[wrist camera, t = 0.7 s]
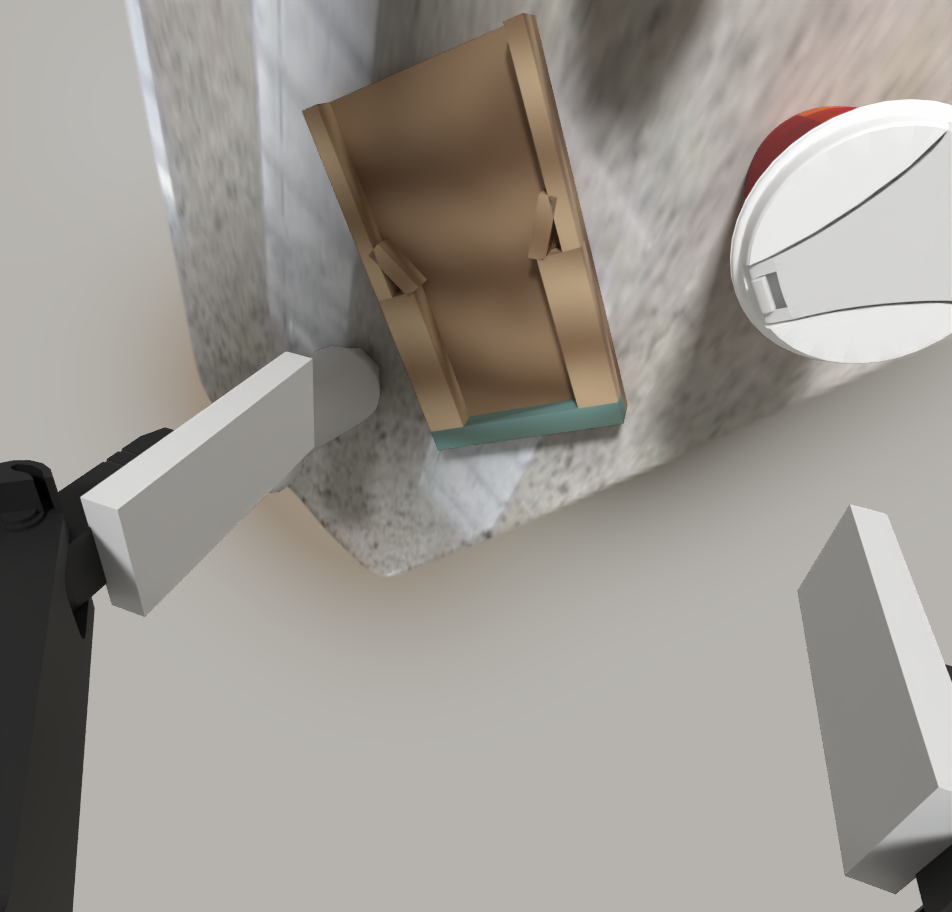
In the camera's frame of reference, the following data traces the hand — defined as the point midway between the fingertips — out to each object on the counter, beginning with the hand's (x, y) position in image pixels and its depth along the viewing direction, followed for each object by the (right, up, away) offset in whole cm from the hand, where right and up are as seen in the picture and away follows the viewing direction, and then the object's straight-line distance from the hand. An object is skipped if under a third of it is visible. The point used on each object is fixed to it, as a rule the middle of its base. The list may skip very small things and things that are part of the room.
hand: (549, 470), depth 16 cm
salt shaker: (-10, +7, +31) cm, 33 cm away
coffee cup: (+15, +14, +16) cm, 26 cm away
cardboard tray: (-1, +12, +23) cm, 26 cm away
